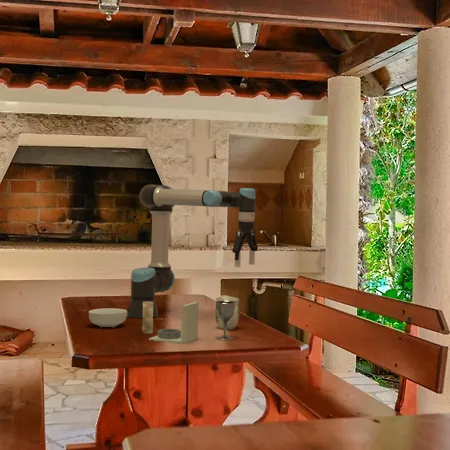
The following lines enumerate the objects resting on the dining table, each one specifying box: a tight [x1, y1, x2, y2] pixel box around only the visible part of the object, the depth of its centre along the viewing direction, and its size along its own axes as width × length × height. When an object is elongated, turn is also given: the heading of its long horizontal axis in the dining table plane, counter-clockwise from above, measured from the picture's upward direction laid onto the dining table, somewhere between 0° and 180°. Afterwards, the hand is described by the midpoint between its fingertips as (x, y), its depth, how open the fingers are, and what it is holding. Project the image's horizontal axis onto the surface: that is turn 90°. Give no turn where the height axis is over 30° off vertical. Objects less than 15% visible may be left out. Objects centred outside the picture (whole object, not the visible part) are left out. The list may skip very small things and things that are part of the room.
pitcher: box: [214, 294, 240, 331], centre depth 308 cm, size 11×18×14 cm, turn 10°
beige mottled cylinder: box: [141, 301, 154, 334], centre depth 294 cm, size 4×4×13 cm
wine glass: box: [215, 300, 235, 341], centre depth 285 cm, size 8×8×15 cm
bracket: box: [148, 301, 200, 345], centre depth 279 cm, size 16×12×15 cm
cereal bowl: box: [88, 307, 128, 328], centre depth 308 cm, size 17×17×7 cm
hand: (244, 265), depth 327 cm, fingers open, 13 cm apart
